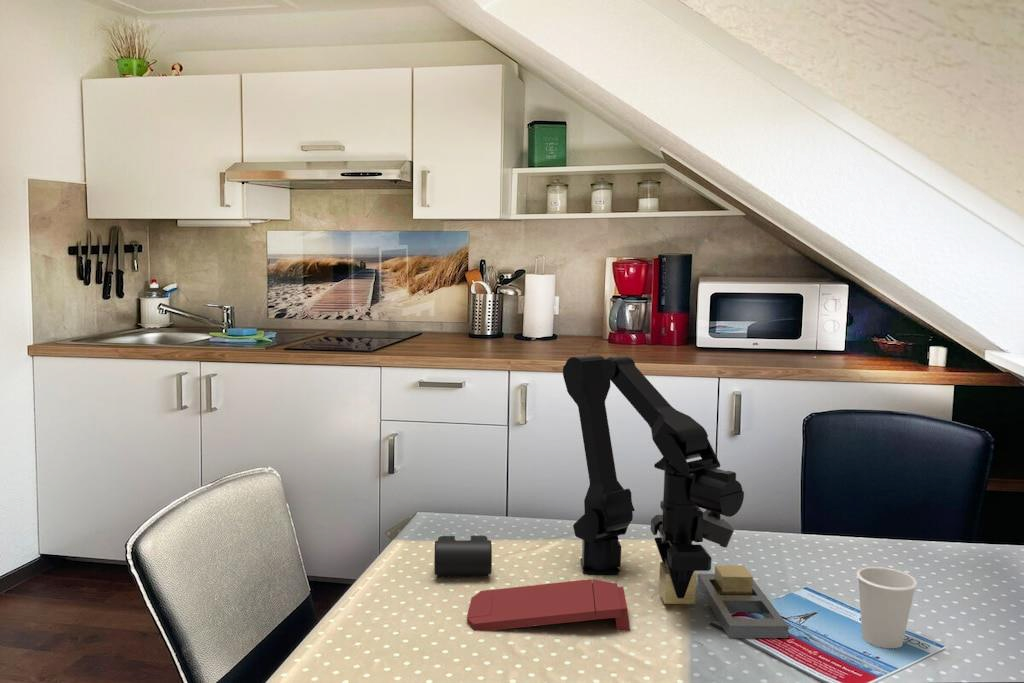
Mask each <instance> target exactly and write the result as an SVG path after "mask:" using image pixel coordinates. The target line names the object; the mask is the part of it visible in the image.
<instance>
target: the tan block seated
mask: <svg viewBox="0 0 1024 683" xmlns="http://www.w3.org/2000/svg"><path fill="white" fill-rule="evenodd" d="M714 574H715V575H714V589H715V590H716V592H717V593H718V595H743V596H752V583H753V580H754V579H753V578H754V577H753V575H752V574H751V573H750V571H749V570H748V569H747V568H746V566H745V565H742V564H741V565H739V564H738V565H737V564H735V565H732V564H730V565H729V564H723V565H721V564H720V565H719V564H714Z"/></svg>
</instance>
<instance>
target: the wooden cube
mask: <svg viewBox="0 0 1024 683" xmlns="http://www.w3.org/2000/svg"><path fill="white" fill-rule="evenodd" d="M658 575H659V578H658V580H659V581H658V583H659V584H658V591H659V594H660V596H661V599H662V601H663V603H664V604H665V605H666V604H673V605H675V604H676V605H677V604H678V605H679V604H681V605H693V604H694V605H696V596H697V595H696V594H697V578H698V573H696V571H694V572H693V575H692V577H691V580H690V582H689V585H688V588H687V591H686V594H685V597H684V598H677V596H676V593H675V590H674V587H673V583H672V580H671V577H670V574H669V571H668V568H667V565H666V562H662V561H660V562H659V574H658Z"/></svg>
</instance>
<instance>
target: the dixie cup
mask: <svg viewBox="0 0 1024 683" xmlns="http://www.w3.org/2000/svg"><path fill="white" fill-rule="evenodd" d="M856 576H857V579H858V589H859V590H858V592H859V609H860V623H861V624H860V625H861V636H862V639H863V640H864V641H865V642H866V643H867V644H870V645H871V644H872V646H874V647H877V648H880V647H882V649H886V648H888V650H889V648H890V650H891V648H893V650H894V648H896V649H899V648H901V647H902V646H903V643H904V640H905V634H906V631H907V625H908V620H909V615H910V611H911V607H912V603H913V598H914V593H915V590H916V588H917V587H918V582H917V580H916V579H915V578H914V576H912V575H910V574H908V573H906V572H904V571H901V570H898V569H893V568H890V567H889V568H888V567H885V566H867V567H863V568H860V569H859V570H857V572H856ZM878 646H879V647H878ZM898 647H899V648H898Z"/></svg>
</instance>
